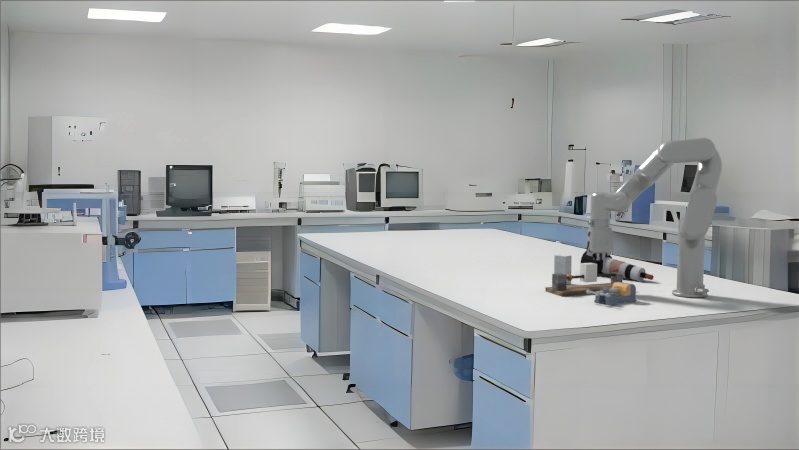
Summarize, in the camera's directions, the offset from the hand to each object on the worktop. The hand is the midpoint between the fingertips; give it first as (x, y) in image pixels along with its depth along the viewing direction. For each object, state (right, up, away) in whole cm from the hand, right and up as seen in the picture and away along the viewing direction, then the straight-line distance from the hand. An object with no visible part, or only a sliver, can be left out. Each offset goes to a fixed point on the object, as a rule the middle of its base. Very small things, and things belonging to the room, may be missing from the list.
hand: (598, 270), depth 307 cm
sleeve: (-4, -4, -1) cm, 6 cm away
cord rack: (-5, -8, -1) cm, 10 cm away
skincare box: (-11, -7, +17) cm, 21 cm away
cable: (+17, -6, +32) cm, 37 cm away
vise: (-1, -11, -23) cm, 26 cm away
